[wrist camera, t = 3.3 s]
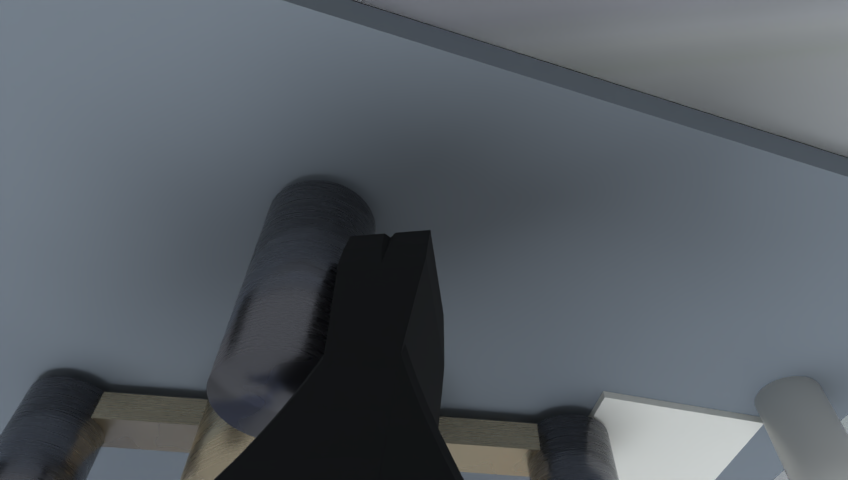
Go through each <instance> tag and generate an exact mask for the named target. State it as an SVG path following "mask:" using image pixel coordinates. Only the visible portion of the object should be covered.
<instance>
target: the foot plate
mask: <svg viewBox="0 0 848 480" xmlns="http://www.w3.org/2000/svg"><path fill="white" fill-rule="evenodd" d="M308 180H324V181H330V182H334V183H337V184H340V185H343V186H345V187H347V188H349V189H351V190H352V191H354V192H355V193H357V194H358V195H359V196H360V197H361V198H362V199H363V200H364V201H365V202H366V203H367V205H368V206H369V207H370V209H371V211H372V213H373V216H374V218H375V223H376V233H375V234H384V233H385V234H386V235H388V236H389V237H392V236H393V235H394V234H395V233H397V232H410V231H423V230H431V237H432V243H433V249H434V256H435V262H436V269H437V275H438V281H439V288H440V294H441V301H442V307H443V313H444V377H443V387H442V397H441V408H440V417H454V418H468V419H481V420H495V421H509V422H522V423H536V424H537V423H539V422H540V421H542V420H544V419H547V418H549V417H553V416H557V415H563V414H578V415H584V416H589V414H590V412H591V411H592V409H593V407H594V406H595V404H596V402H597V401H598V399H599V397H600V396H601V394H602V392H603V391H606V392H612V393H618V394H624V395H630V396H636V397H642V398H648V399H654V400H661V401H667V402H673V403H679V404H685V405H691V406H697V407H703V408H709V409H715V410H721V411H727V412H733V413H740V414H746V415H752V416H758V417H760V415H759V413H758V411H757V409H756V407H755V397H756V395H757V394H758V392H759V391H760V390H761V389H762V388H763V387H765V386H766V385H768V384H769V383H771V382H773V381H776V380H778V379H782V378H786V377H792V376H803V377H808V378H811V379H813V380H815V381H817V382H818V383H819V385H820V386H821V388H822V390H823V392H824V393H825V395H826V397H827V399H828V400H829V402H830V404H831V406H832V407H833V409H834V411H835V413H836V414H837V416H838V418H839V420H840V421H841V420H842V419H843V418H844V417H845V416H847V415H848V158H846V157H843V156H840V155H836V154H833V153H830V152H827V151H824V150H821V149H818V148H814V147H811V146H808V145H805V144H802V143H799V142H795V141H792V140H789V139H786V138H783V137H780V136H777V135H773V134H770V133H767V132H764V131H761V130H758V129H755V128H751V127H748V126H745V125H742V124H739V123H736V122H733V121H729V120H726V119H723V118H720V117H717V116H714V115H711V114H707V113H704V112H701V111H698V110H695V109H692V108H688V107H685V106H682V105H679V104H676V103H673V102H670V101H666V100H663V99H660V98H657V97H654V96H651V95H648V94H644V93H641V92H638V91H635V90H632V89H629V88H626V87H622V86H619V85H616V84H613V83H610V82H607V81H604V80H600V79H597V78H594V77H591V76H588V75H585V74H581V73H578V72H575V71H572V70H569V69H566V68H563V67H559V66H556V65H553V64H550V63H547V62H544V61H541V60H537V59H534V58H531V57H528V56H525V55H522V54H519V53H515V52H512V51H509V50H506V49H503V48H500V47H497V46H493V45H490V44H487V43H484V42H481V41H478V40H474V39H471V38H468V37H465V36H462V35H459V34H456V33H452V32H449V31H446V30H443V29H440V28H437V27H434V26H430V25H427V24H424V23H421V22H418V21H415V20H412V19H408V18H405V17H402V16H399V15H396V14H393V13H390V12H386V11H383V10H380V9H377V8H374V7H371V6H367V5H364V4H361V3H358V2H355V1H352V0H0V435H1V433H2V431H3V430H4V428H5V427H6V425H7V423H8V422H9V420H10V419H11V417H12V415H13V414H14V412H15V411H16V409H17V407H18V406H19V404H20V403H21V401H22V399H23V398H24V396H25V394H26V393H27V391H28V390H29V388H30V387H31V385H32V384H33V383H34V382H36V381H37V380H39V379H41V378H45V377H50V376H65V377H72V378H76V379H80V380H83V381H86V382H88V383H90V384H93V385H94V386H96V387H98V388H99V389H101V390H102V391H104V392H114V393H127V394H141V395H155V396H168V397H182V398H195V399H208V396H207V389H206V388H207V381H208V379H209V376H210V373H211V370H212V367H213V365H214V362H215V359H216V356H217V353H218V351H219V348H220V345H221V342H222V339H223V336H224V334H225V331H226V328H227V325H228V322H229V320H230V317H231V314H232V311H233V308H234V306H235V303H236V300H237V297H238V294H239V292H240V289H241V286H242V283H243V280H244V278H245V275H246V272H247V269H248V266H249V264H250V261H251V258H252V255H253V252H254V250H255V247H256V244H257V241H258V238H259V236H260V233H261V230H262V227H263V224H264V222H265V219H266V216H267V213H268V210H269V208H270V205H271V203H272V201H273V199H274V198H275V197H276V196H277V195H278V194H279V193H280V192H281V191H282V190H284V189H285V188H287V187H288V186H290V185H293V184H295V183H298V182H302V181H308ZM188 455H189V453H184V452H170V451H156V450H141V449H127V448H113V447H101V449H100V451H99V454H98V456H97V458H96V460H95V462H94V464H93V466H92V468H91V470H90V473H89V475H88V477H87V479H86V480H180V478H181V475H182V472H183V470H184V467H185V464H186V461H187V458H188ZM783 471H784V468H783V465H782V463H781V461H780V459H779V457H778V454H777V452H776V450H775V448H774V446H773V444H772V441H771V439H770V437H769V435H768V433H767V431H766V428H765V426H764V424H763V425H762V427H761V428H760V429H759V430H758V431H757V432H756V433H755V435H754V436H753V437H752V438H751V439H750V440H749V441H748V443H747V444H746V445H745V446H744V447H743V448H742V449H741V451H740V452H739V453H738V454H737V455H736V456H735V457H734V459H733V460H732V461H731V462H730V463H729V464H728V465H727V467H726V468H725V469H724V470H723V471H722V472H721V473H720V475H719V476H718V477H717V478H716V479H715V480H773V479H775V478H776V477H777V476H778V475H779V474H780V473H781V472H783ZM460 473H461V475H462V477H463V479H464V480H529V477H525V476H511V475H497V474H483V473H468V472H460Z"/></svg>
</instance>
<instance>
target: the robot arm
mask: <svg viewBox="0 0 848 480" xmlns="http://www.w3.org/2000/svg"><path fill="white" fill-rule="evenodd" d="M443 377H444V313H443V307H442V301H441V294H440V288H439V281H438V275H437V269H436V262H435V256H434V249H433V243H432V237H431V230H423V231H410V232H397V233H395V234H394V235H393V236H392V237H389V236H388V235H386V234H385V233H384V234H371V235H358V236H350V237H349V239H348V241H347V243H346V246H345V248H344V250H343V252H342V255H341V258H340V260H339V263H338V268H337V274H336V280H335V286H334V292H333V299H332V305H331V312H330V319H329V325H328V332H327V338H326V345H325V351H324V354H323V356H322V357H321V359H320V360H319V362H318V363H317V364H316V366H315V367H314V368H313V370H312V371H311V373H310V374H309V375H308V377H307V378H306V379H305V380H304V382H303V383H302V384H301V386H300V387H299V388H298V389H297V391H296V392H295V393H294V394H293V395H292V397H291V398H290V399H289V400H288V402H287V403H286V404H285V405H284V406H283V408H282V409H281V410H280V411H279V412H278V413H277V414H276V416H275V417H274V418H273V419H272V420H271V421H270V422H269V423H268V425H267V426H266V427H265V428H264V429H263V430H262V431H261V432H260V434H259V435H258V436H257V437H256V438H255V439H254V440H253V441H252V442H251V443H250V444H249V445H248V446H247V447H246V449H245V450H244V451H243V452H242V453H241V454H240V455H239V456H238V457H237V458H236V459H235V460H234V461H233V462H232V463H231V464H230V465H229V466H227V467H226V468H225V469H224V470H223V471H222V472H221V473H220V474H219V475H218V476H217V477H216V478H215V479H214V480H464V479H463V477H462V475H461V473H460V471H459V469H458V467H457V465H456V463H455V461H454V459H453V457H452V455H451V453H450V451H449V449H448V447H447V445H446V443H445V441H444V439H443V437H442V435H441V433H440V431H439V429H438V428H439V418H440V408H441V397H442V387H443Z"/></svg>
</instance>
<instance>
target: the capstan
mask: <svg viewBox="0 0 848 480" xmlns="http://www.w3.org/2000/svg"><path fill="white" fill-rule="evenodd" d="M375 233H376V223H375V218H374V216H373V213H372V211H371V209H370V207H369V206H368V205H367V203H366V202H365V201H364V200H363V199H362V198H361V197H360V196H359V195H358V194H357V193H355V192H354V191H352V190H351V189H349V188H347V187H345V186H343V185H340V184H337V183H334V182H330V181H324V180H308V181H302V182H298V183H295V184H293V185H290V186H288V187H287V188H285V189H284V190H282V191H281V192H280V193H279V194H278V195H277V196H276V197H275V198H274V199H273V201H272V203H271V205H270V208H269V210H268V213H267V216H266V219H265V222H264V224H263V227H262V230H261V233H260V236H259V238H258V241H257V244H256V247H255V250H254V252H253V255H252V258H251V261H250V264H249V266H248V269H247V272H246V275H245V278H244V280H243V283H242V286H241V289H240V292H239V294H238V297H237V300H236V303H235V306H234V308H233V311H232V314H231V317H230V320H229V322H228V325H227V328H226V331H225V334H224V336H223V339H222V342H221V345H220V348H219V351H218V353H217V356H216V359H215V362H214V365H213V367H212V370H211V373H210V376H209V379H208V381H207V388H206V389H207V396H208V399H195V398H182V397H168V396H155V395H141V394H127V393H114V392H104V391H102V390H101V389H99V388H98V387H96V386H94V385H93V384H90V383H88V382H86V381H83V380H80V379H76V378H72V377H65V376H50V377H45V378H41V379H39V380H37V381H36V382H34V383H33V384H32V385H31V387H30V388H29V390H28V391H27V393H26V394H25V396H24V398H23V399H22V401H21V403H20V404H19V406H18V407H17V409H16V411H15V412H14V414H13V415H12V417H11V419H10V420H9V422H8V423H7V425H6V427H5V428H4V430H3V431H2V433H1V435H0V480H86V479H87V477H88V475H89V473H90V470H91V468H92V466H93V464H94V462H95V460H96V458H97V456H98V454H99V451H100V449H101V447H113V448H127V449H141V450H156V451H170V452H184V453H189V455H188V458H187V461H186V464H185V467H184V470H183V472H182V475H181V478H180V480H214V479H215V478H216V477H217V476H218V475H219V474H220V473H221V472H222V471H223V470H224V469H225V468H226V467H227V466H229V465H230V464H231V463H232V462H233V461H234V460H235V459H236V458H237V457H238V456H239V455H240V454H241V453H242V452H243V451H244V450H245V449H246V447H247V446H248V445H249V444H250V443H251V442H252V441H253V440H254V439H255V438H256V437H257V436H258V435H259V434H260V432H261V431H262V430H263V429H264V428H265V427H266V426H267V425H268V423H269V422H270V421H271V420H272V419H273V418H274V417H275V416H276V414H277V413H278V412H279V411H280V410H281V409H282V408H283V406H284V405H285V404H286V403H287V402H288V400H289V399H290V398H291V397H292V395H293V394H294V393H295V392H296V391H297V389H298V388H299V387H300V386H301V384H302V383H303V382H304V380H305V379H306V378H307V377H308V375H309V374H310V373H311V371H312V370H313V368H314V367H315V366H316V364H317V363H318V362H319V360H320V359H321V357H322V356H323V354H324V351H325V345H326V338H327V332H328V325H329V319H330V312H331V305H332V299H333V292H334V286H335V280H336V274H337V268H338V263H339V260H340V258H341V255H342V252H343V250H344V248H345V246H346V243H347V241H348V239H349V237H350V236H358V235H371V234H375ZM438 429H439V431H440V433H441V435H442V437H443V439H444V441H445V443H446V445H447V447H448V449H449V451H450V453H451V455H452V457H453V459H454V461H455V463H456V465H457V467H458V469H459V471H460V472H468V473H483V474H497V475H511V476H525V477H529V480H619V478H618V474H617V469H616V465H615V461H614V456H613V452H612V448H611V444H610V439H609V435H608V432H607V429H606V428H605V426H604V425H603V424H602V423H601V422H599V421H598V420H596V419H594V418H591V417H588V416H584V415H578V414H563V415H557V416H553V417H549V418H547V419H544V420H542V421H540V422H539V423H537V424H536V423H522V422H509V421H495V420H481V419H468V418H454V417H440V418H439V428H438Z"/></svg>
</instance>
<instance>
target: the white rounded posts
mask: <svg viewBox="0 0 848 480" xmlns="http://www.w3.org/2000/svg"><path fill="white" fill-rule="evenodd" d="M755 407H756V409H757V411H758V413H759V415H760V417H758V416H752V415H746V414H740V413H733V412H727V411H721V410H715V409H709V408H703V407H697V406H691V405H685V404H679V403H673V402H667V401H661V400H654V399H648V398H642V397H636V396H630V395H624V394H618V393H612V392H606V391H603V392H602V394H601V396H600V397H599V399H598V401H597V402H596V404H595V406H594V407H593V409H592V411H591V412H590V414H589V416H588V417H591V418H594V419H596V420H598V421H599V422H601V423H602V424H603V425H604V426H605V428H606V429H607V432H608V435H609V439H610V444H611V448H612V452H613V456H614V461H615V465H616V469H617V474H618V478H619V480H715V479H716V478H717V477H718V476H719V475H720V473H721V472H722V471H723V470H724V469H725V468H726V467H727V465H728V464H729V463H730V462H731V461H732V460H733V459H734V457H735V456H736V455H737V454H738V453H739V452H740V451H741V449H742V448H743V447H744V446H745V445H746V444H747V443H748V441H749V440H750V439H751V438H752V437H753V436H754V435H755V433H756V432H757V431H758V430H759V429H760V428H761V427H762V425H763V424H764V426H765V428H766V431H767V433H768V435H769V437H770V439H771V441H772V444H773V446H774V448H775V450H776V452H777V454H778V457H779V459H780V461H781V463H782V465H783V468H784V470H785V472H786V474H787V476H788V478H789V480H848V434H847V432H846V430H845V428H844V427H843V425H842V423H841V421H840V420H839V418H838V416H837V414H836V413H835V411H834V409H833V407H832V406H831V404H830V402H829V400H828V399H827V397H826V395H825V393H824V392H823V390H822V388H821V386H820V385H819V383H818V382H817V381H815V380H813V379H811V378H808V377H803V376H792V377H786V378H782V379H778V380H776V381H773V382H771V383H769V384H768V385H766V386H765V387H763V388H762V389H761V390H760V391H759V392H758V394H757V395H756V397H755Z"/></svg>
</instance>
